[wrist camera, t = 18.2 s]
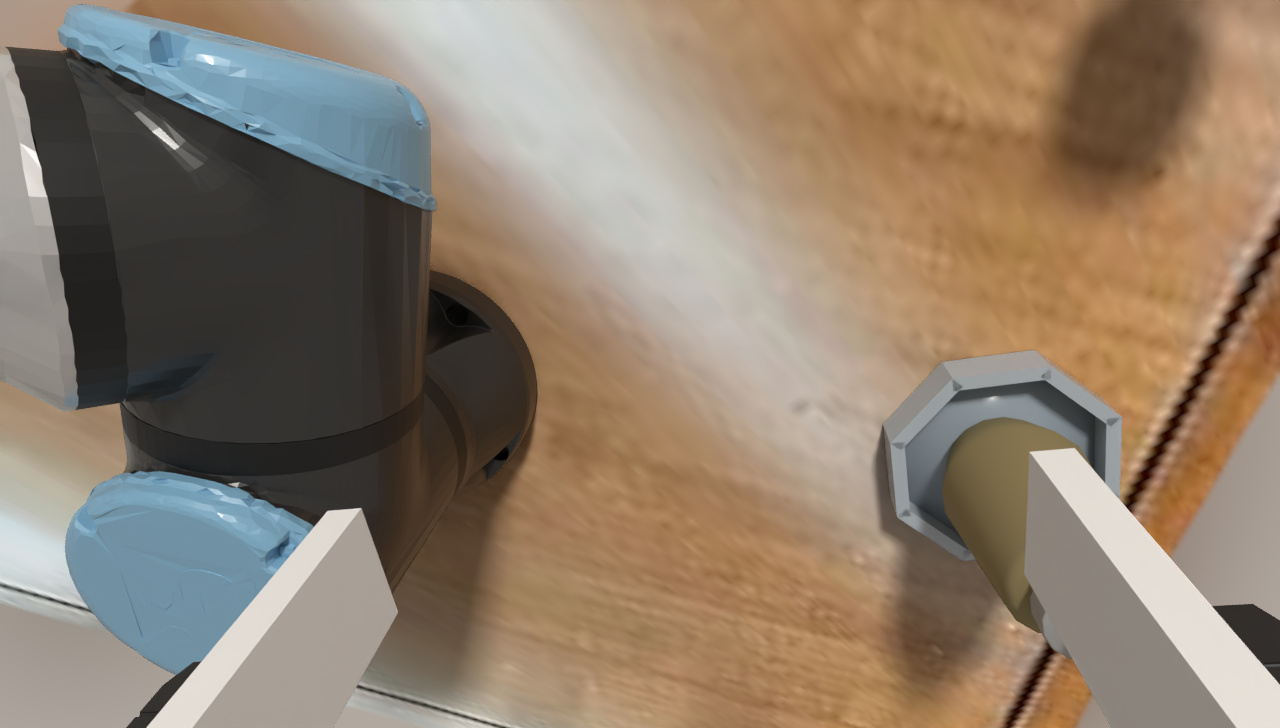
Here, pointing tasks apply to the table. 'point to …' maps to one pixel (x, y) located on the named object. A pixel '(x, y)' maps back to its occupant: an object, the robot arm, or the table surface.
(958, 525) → the squeeze bottle
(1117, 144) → the table surface
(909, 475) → the octagonal tray
